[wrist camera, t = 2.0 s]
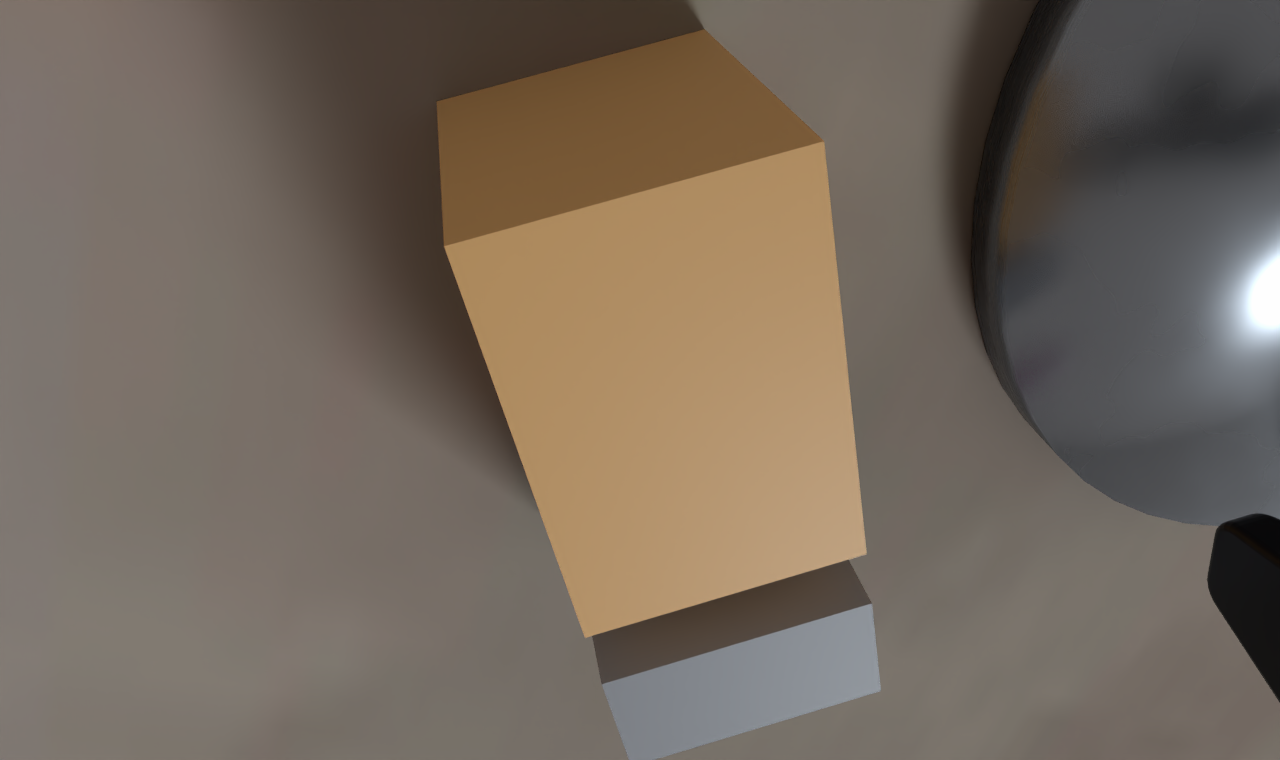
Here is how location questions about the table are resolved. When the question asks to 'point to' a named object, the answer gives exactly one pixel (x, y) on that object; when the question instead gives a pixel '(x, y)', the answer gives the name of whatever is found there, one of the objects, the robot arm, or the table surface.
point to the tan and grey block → (672, 377)
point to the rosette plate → (1141, 249)
